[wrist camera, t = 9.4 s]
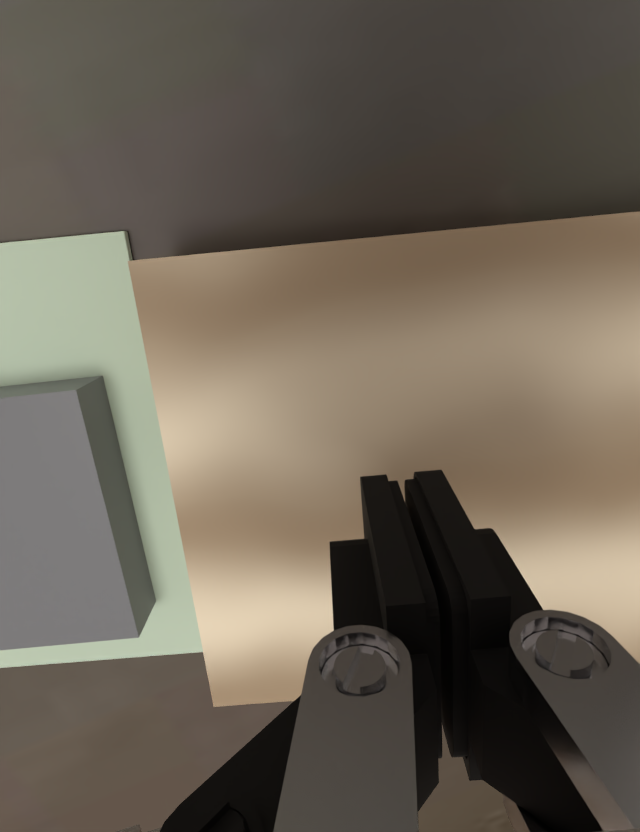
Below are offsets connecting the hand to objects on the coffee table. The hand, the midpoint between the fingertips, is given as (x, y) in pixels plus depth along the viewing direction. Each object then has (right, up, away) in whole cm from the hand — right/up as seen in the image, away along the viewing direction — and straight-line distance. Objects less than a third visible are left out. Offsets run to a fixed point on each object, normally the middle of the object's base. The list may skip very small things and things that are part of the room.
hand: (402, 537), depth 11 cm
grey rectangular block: (-12, -1, +6) cm, 13 cm away
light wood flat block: (+3, +2, +8) cm, 8 cm away
